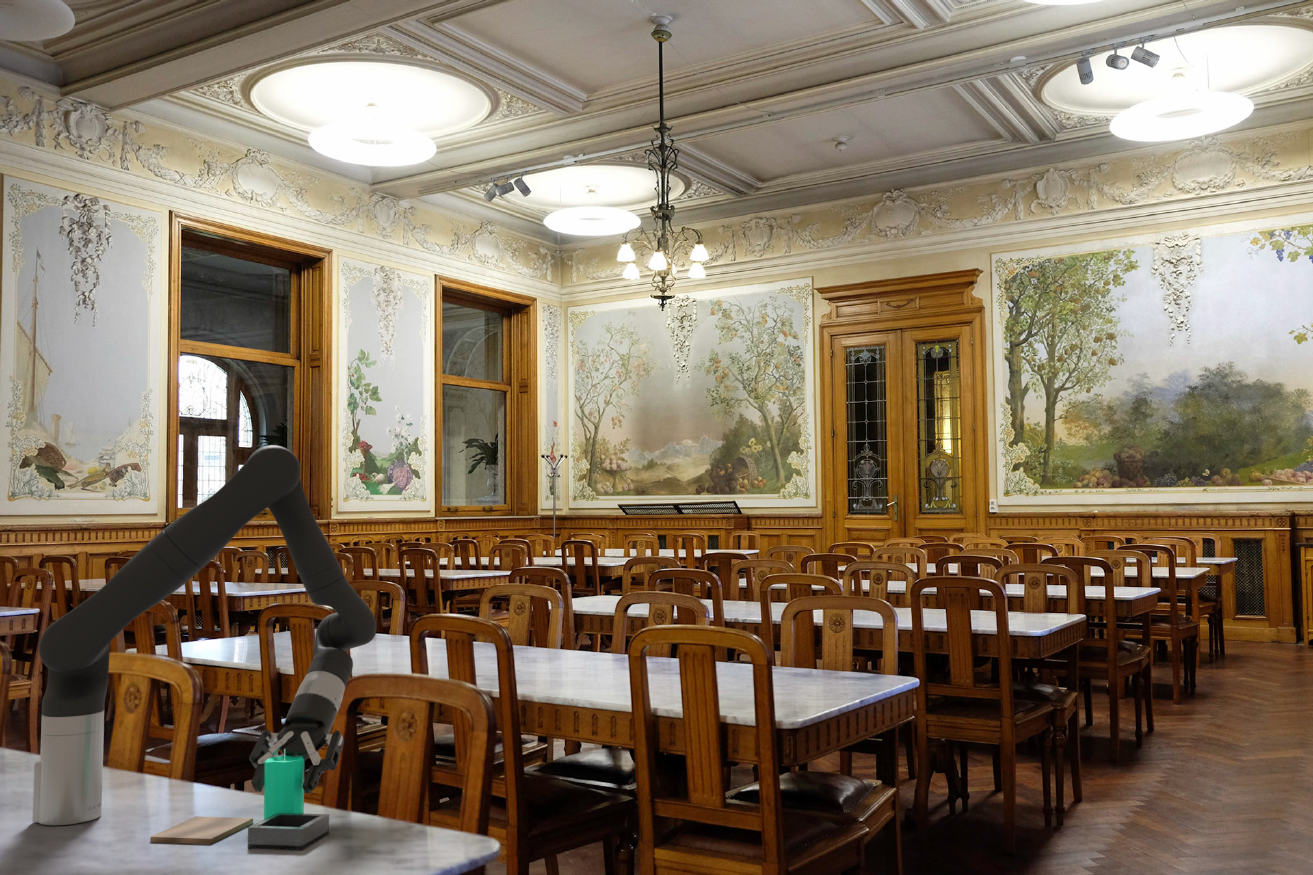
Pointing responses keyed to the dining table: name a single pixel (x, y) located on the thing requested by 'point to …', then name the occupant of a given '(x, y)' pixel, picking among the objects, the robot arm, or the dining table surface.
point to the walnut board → (202, 830)
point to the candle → (284, 785)
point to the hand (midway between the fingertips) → (281, 789)
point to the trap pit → (288, 831)
